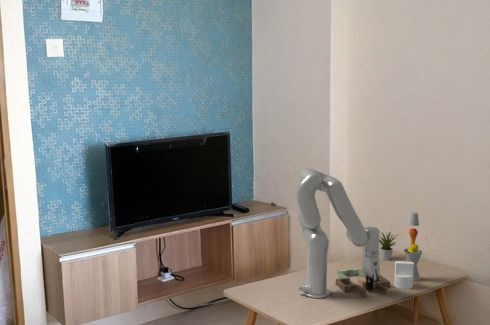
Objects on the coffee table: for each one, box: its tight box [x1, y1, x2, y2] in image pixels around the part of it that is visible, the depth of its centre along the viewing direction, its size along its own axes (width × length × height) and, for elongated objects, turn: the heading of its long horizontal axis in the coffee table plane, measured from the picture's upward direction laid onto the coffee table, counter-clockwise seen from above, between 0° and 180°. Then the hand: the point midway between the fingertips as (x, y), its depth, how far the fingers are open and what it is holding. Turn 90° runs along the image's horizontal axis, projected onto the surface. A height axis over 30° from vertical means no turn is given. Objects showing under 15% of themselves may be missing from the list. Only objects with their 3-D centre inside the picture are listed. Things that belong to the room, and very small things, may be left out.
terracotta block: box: [357, 277, 375, 291], centre depth 284 cm, size 6×6×4 cm
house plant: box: [379, 231, 402, 261], centre depth 327 cm, size 14×14×16 cm
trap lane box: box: [335, 268, 391, 298], centre depth 288 cm, size 24×29×3 cm
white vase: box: [393, 260, 414, 290], centre depth 286 cm, size 9×9×12 cm
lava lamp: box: [403, 212, 423, 283], centre depth 293 cm, size 9×9×35 cm
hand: (369, 288), depth 279 cm, fingers closed
